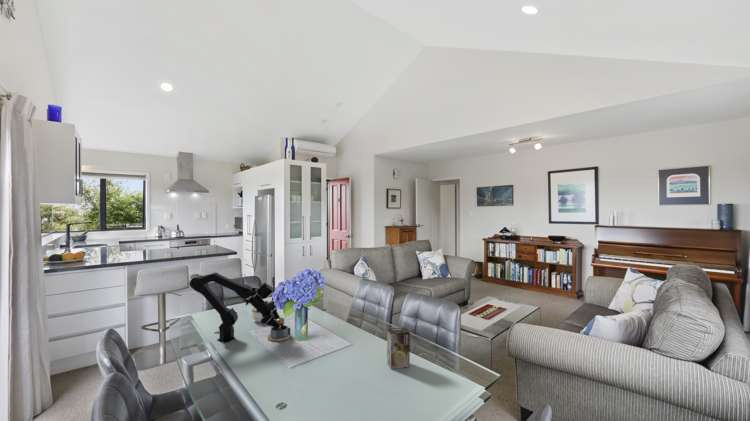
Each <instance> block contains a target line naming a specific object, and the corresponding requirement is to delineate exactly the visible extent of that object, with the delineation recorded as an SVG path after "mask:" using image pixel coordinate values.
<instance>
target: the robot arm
mask: <svg viewBox="0 0 750 421" xmlns="http://www.w3.org/2000/svg"><path fill="white" fill-rule="evenodd" d="M211 282H214V283H216V284H218V285H220V286H222V287H225V288H227V289H229V290H231V291H233V292H234V293H236V295H237V296H238V297H240V298H242V299H245V306H248V305H249V304H250V305H251V306H252V308H255V309H256V311H257V312H258V311H259V312H260V313H261V314H262V317H263V318H262V319H261V322H260V323H261V324H262V325H263V326H264V325H265V326H270V327H276V328H279V327H280V326H279V324H278V323H277V322H276V320H275V319H277V318H281V316H280V315H279V313H278V307H276V306H275V305H274V301H273V297H271V300H270V301H268V300H264V299H267V298H269V296H270V295H271V294H272V293H274V291H275V290H274V288H273V287H272V286H271V285H270V284H268V283H266V282H263V284H262V285H261V286H260V287H258V288H257V287H253V286H251V285H248V284H244V283H239V282H237V281H234V280H232V279H231V278H228V277H227V276H223V275H222V274H220V273H219V272H213V273H209V274H206V275H205V274H204V275H197V276H195V277H193V278H191V280H189V283H188V284H189V287H190V288H191V289H192V290H194V291H195V292H197V293H199V294H201V295H202V297H204V299H206V300H207V302H208V303H209V304H210V305H211V307H212V308H214V309H215V311H216V312H217V313H218V314H219V317H220V320H221V322H222V323H221V324H220V325H219V326H218V329H219V338H217V339H216V340H217V341H219V342H223V343H227V342H231V341H233V340H235V339H236V337H235V329H234V325H235V324H236V322H237V321H238V319H239V316H238V312H237V311H236V310H235V309H234V308H233V307H231V308H228V307H227V306H226V305H225V304H224V303H223V301H222V300H221V299H220V298H219V297H218V296H217V295H216V294H215V292H214V291H213V290H212V289H211V288H210V285H209V284H210V283H211Z"/></svg>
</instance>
